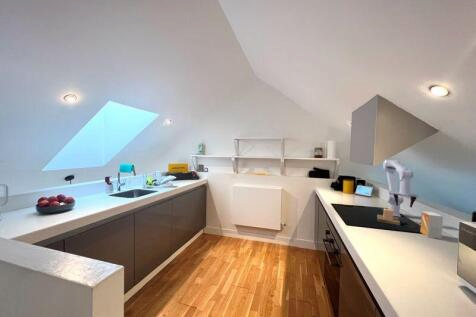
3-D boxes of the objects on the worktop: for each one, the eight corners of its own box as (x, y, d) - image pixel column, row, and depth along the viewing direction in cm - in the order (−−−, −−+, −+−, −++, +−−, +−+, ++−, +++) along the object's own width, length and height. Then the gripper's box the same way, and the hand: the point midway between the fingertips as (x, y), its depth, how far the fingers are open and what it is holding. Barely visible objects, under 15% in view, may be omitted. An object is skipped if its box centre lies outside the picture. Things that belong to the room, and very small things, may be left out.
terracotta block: (383, 216, 146) (383, 208, 146) (392, 218, 144) (392, 209, 144) (383, 218, 142) (384, 209, 142) (392, 219, 140) (393, 211, 139)
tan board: (377, 217, 151) (377, 214, 151) (397, 220, 145) (397, 217, 145) (377, 221, 141) (378, 218, 141) (399, 225, 135) (400, 222, 135)
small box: (419, 232, 124) (421, 210, 124) (432, 233, 122) (434, 212, 122) (427, 237, 116) (429, 214, 116) (441, 239, 115) (443, 216, 114)
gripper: (392, 186, 144) (391, 205, 145) (419, 189, 137) (418, 209, 137) (391, 185, 150) (390, 203, 151) (417, 187, 143) (416, 207, 143)
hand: (403, 206), depth 144 cm, fingers open, 7 cm apart
